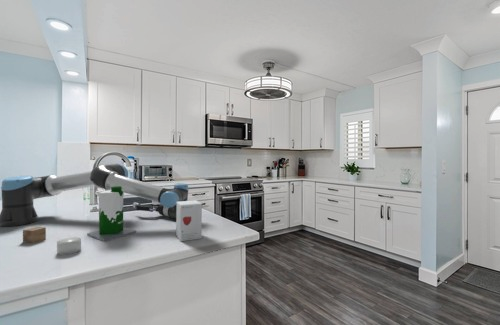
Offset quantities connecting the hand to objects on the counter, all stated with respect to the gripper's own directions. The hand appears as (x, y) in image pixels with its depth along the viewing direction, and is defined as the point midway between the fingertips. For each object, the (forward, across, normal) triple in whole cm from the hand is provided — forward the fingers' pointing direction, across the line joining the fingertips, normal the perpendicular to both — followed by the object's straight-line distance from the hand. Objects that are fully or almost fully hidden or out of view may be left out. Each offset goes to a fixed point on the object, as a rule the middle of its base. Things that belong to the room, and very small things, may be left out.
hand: (143, 203), depth 150 cm
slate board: (-25, -33, -5) cm, 42 cm away
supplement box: (-56, -18, -3) cm, 59 cm away
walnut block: (-7, -54, -7) cm, 55 cm away
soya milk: (-24, -33, -5) cm, 41 cm away
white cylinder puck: (-31, -52, -6) cm, 61 cm away
